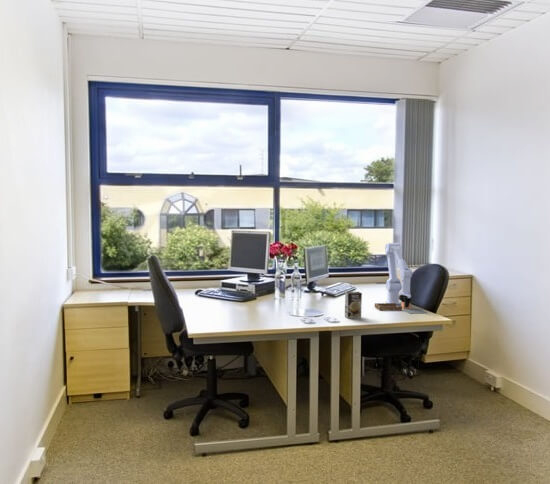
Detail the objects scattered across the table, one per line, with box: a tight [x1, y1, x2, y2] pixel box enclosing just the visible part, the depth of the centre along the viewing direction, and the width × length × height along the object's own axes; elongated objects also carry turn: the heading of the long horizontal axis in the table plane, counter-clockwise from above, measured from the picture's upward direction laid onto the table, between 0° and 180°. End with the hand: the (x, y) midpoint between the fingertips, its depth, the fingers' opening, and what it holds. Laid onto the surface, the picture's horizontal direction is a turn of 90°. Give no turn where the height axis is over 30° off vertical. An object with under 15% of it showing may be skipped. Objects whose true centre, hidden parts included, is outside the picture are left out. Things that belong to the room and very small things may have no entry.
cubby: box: [374, 302, 403, 312], centre depth 336 cm, size 12×16×2 cm
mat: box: [402, 308, 428, 315], centre depth 328 cm, size 12×12×1 cm
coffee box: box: [344, 291, 363, 320], centre depth 309 cm, size 9×6×16 cm
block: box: [400, 301, 412, 310], centre depth 337 cm, size 5×5×4 cm
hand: (405, 306), depth 337 cm, fingers closed on block, 5 cm apart
